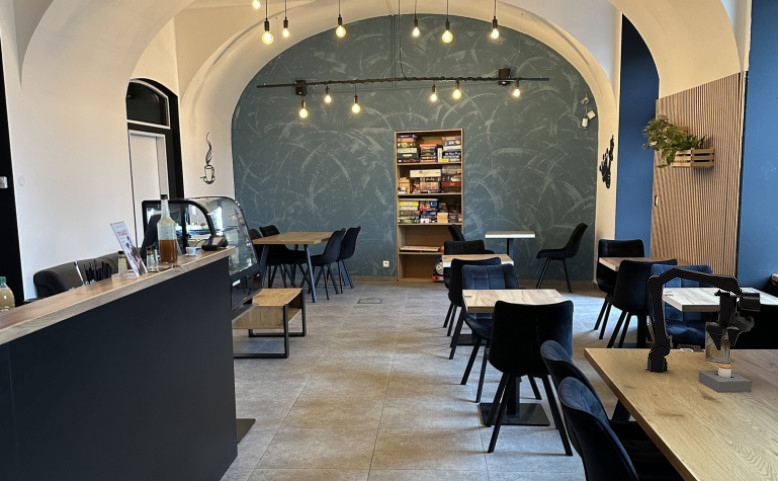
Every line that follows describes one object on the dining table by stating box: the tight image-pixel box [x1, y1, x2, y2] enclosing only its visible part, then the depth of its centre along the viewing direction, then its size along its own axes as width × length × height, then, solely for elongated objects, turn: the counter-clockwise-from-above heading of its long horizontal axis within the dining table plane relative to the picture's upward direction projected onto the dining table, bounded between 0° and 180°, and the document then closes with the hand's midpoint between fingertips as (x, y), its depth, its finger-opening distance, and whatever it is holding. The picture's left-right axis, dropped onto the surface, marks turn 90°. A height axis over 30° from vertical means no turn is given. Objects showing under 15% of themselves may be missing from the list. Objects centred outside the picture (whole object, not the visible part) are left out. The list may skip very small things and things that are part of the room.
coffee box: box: [704, 321, 731, 364], centre depth 241 cm, size 9×6×16 cm
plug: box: [717, 362, 732, 378], centre depth 207 cm, size 4×4×8 cm
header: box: [698, 370, 752, 394], centre depth 207 cm, size 12×12×5 cm
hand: (725, 348), depth 214 cm, fingers open, 9 cm apart
